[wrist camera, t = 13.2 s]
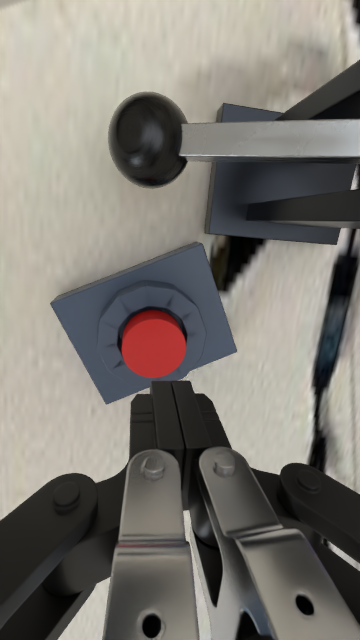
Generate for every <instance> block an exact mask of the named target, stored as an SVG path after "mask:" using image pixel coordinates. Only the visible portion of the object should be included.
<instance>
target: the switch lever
mask: <svg viewBox="0 0 360 640" xmlns="http://www.w3.org/2000/svg"><path fill="white" fill-rule="evenodd" d="M108 144H109V150H110V154H111V157H112V159H113V161H114V163H115V165H116V167H117V169H118V170H119V171H120V172H121V174H122V175H123V176H124V177H125V178H126V179H128V180H129V181H130V182H132V183H134V184H136V185H138V186H140V187H144V188H159V187H163V186H166V185H168V184H170V183H171V182H173V181H174V180H175V179H176V178H178V177H179V175H180V174H181V173H182V172H183V170H184V169H185V167H186V165H187V162H188V161H205V162H267V163H329V164H360V119H327V120H292V121H258V122H223V123H188V122H187V120H186V118H185V116H184V114H183V113H182V111H181V110H180V108H179V107H178V106H177V105H176V104H175V103H174V102H173V101H172V100H170V99H169V98H167V97H166V96H164V95H161V94H159V93H155V92H140V93H137V94H134V95H132V96H130V97H128V98H127V99H125V100H124V101H123V102H122V103H121V104H120V105H119V106H118V108H117V109H116V111H115V112H114V114H113V116H112V119H111V121H110V125H109V131H108Z"/></svg>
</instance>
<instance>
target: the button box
mask: <svg viewBox="0 0 360 640" xmlns="http://www.w3.org/2000/svg"><path fill="white" fill-rule="evenodd" d="M50 304H51V306H52V308H53V310H54V312H55V313H56V315H57V317H58V319H59V321H60V322H61V324H62V326H63V328H64V330H65V331H66V333H67V335H68V337H69V339H70V340H71V342H72V344H73V346H74V348H75V349H76V351H77V353H78V355H79V357H80V358H81V360H82V362H83V364H84V366H85V367H86V369H87V371H88V373H89V375H90V376H91V378H92V380H93V382H94V384H95V385H96V387H97V389H98V391H99V393H100V395H101V396H102V398H103V400H104V402H105V404H109V403H111V402H114V401H116V400H119V399H121V398H124V397H126V396H129V395H131V394H134V393H136V392H139V391H141V390H144V389H146V388H149V387H150V383H151V381H170V382H171V381H177V380H180V379H182V378H184V377H185V376H186V375H187V374H188V373H189V371H191V370H193V369H196V368H198V367H201V366H203V365H206V364H208V363H211V362H213V361H216V360H218V359H221V358H223V357H226V356H228V355H230V354H233V353H235V352H237V349H236V346H235V343H234V340H233V337H232V334H231V331H230V327H229V324H228V321H227V318H226V315H225V312H224V309H223V306H222V303H221V300H220V296H219V293H218V290H217V287H216V284H215V281H214V278H213V275H212V272H211V269H210V265H209V262H208V259H207V256H206V253H205V250H204V247H203V244H201V243H198V242H195V243H192V244H190V245H187V246H185V247H182V248H179V249H177V250H174V251H172V252H169V253H167V254H164V255H162V256H159V257H156V258H154V259H151V260H149V261H146V262H144V263H141V264H139V265H136V266H133V267H131V268H128V269H126V270H123V271H121V272H118V273H116V274H113V275H110V276H108V277H105V278H103V279H100V280H98V281H95V282H93V283H90V284H88V285H85V286H82V287H80V288H77V289H75V290H72V291H70V292H67V293H65V294H62V295H59V296H57V297H56V298H55V299H54V300H53V301H52V302H51V303H50ZM147 310H159V311H163V312H165V313H167V314H169V315H171V316H172V317H173V318H174V319H175V320H176V321H177V323H178V324H179V326H180V329H181V331H182V333H183V335H184V338H185V341H186V353H185V356H184V359H183V361H182V362H181V364H180V365H179V366H178V367H177V368H176V369H175V370H174V371H173V372H171V373H169V374H167V375H165V376H162V377H156V378H149V377H144V376H141V375H138V374H136V373H135V372H133V371H132V370H131V369H130V368H129V367H128V366H127V365H126V363H125V361H124V359H123V356H122V338H123V331H124V328H125V326H126V324H127V323H128V321H129V320H130V319H131V318H132V317H134V316H135V315H137V314H138V313H140V312H143V311H147Z"/></svg>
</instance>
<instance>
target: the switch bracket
mask: <svg viewBox="0 0 360 640" xmlns="http://www.w3.org/2000/svg"><path fill="white" fill-rule="evenodd" d="M327 119H360V60H359V61H357V62H356V63H355V64H353V65H352V66H350V67H349V68H347V69H346V70H345V71H343V72H342V73H340V74H339V75H337V76H336V77H335V78H333V79H332V80H330V81H329V82H327V83H326V84H325V85H323V86H322V87H320V88H319V89H317V90H316V91H315V92H313V93H312V94H310V95H309V96H307V97H306V98H305V99H303V100H302V101H300V102H299V103H297V104H296V105H295V106H293V107H292V108H290V109H289V110H287V111H286V112H285V113H281V112H275V111H269V110H263V109H257V108H251V107H245V106H239V105H233V104H227V103H223V104H222V106H221V107H220V108H219V110H218V113H217V122H216V123H223V122H258V121H292V120H327ZM355 168H356V164H329V163H267V162H212V168H211V178H210V187H209V196H208V206H207V215H206V224H205V233H207V234H215V235H226V236H238V237H249V238H261V239H273V240H284V241H296V242H307V243H319V244H330V245H337V242H338V237H339V233H340V229H341V228H354V229H360V189H356V190H350V189H351V184H352V180H353V176H354V172H355Z"/></svg>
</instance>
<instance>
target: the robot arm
mask: <svg viewBox="0 0 360 640" xmlns="http://www.w3.org/2000/svg"><path fill="white" fill-rule="evenodd" d="M185 510H189V511H190V517H191V527H190V540H191V544H192V548H193V552H194V557H195V561H196V565H197V569H198V573H199V577H200V581H201V585H202V589H203V593H204V597H205V602H206V606H207V610H208V614H209V620H210V627H211V640H360V571H358V570H357V569H356V568H354V567H353V566H352V565H350V564H349V563H348V562H346V561H345V560H344V559H342V558H341V557H339V556H338V555H337V554H335V553H334V552H333V551H331V550H330V549H329V548H327V547H326V546H325V545H323V544H322V540H323V537H324V538H325V539H327V540H328V541H329V542H331V543H332V544H334V545H335V546H336V547H338V548H339V549H340V550H342V551H343V552H345V553H346V554H347V555H349V556H350V557H351V558H353V559H354V560H356V561H357V562H358V563H360V494H358V493H356V492H355V491H353V490H351V489H350V488H348V487H346V486H344V485H343V484H341V483H339V482H338V481H336V480H334V479H333V478H331V477H329V476H328V475H326V474H324V473H322V472H321V471H319V470H317V469H315V468H314V467H311V466H309V465H306V464H302V463H290V464H287V465H286V466H284V467H283V468H282V470H281V473H280V475H277V474H273V473H268V472H264V471H259V470H256V469H253V468H251V467H250V466H249V464H248V463H247V461H246V460H245V458H244V457H243V456H242V455H241V454H239V453H238V452H236V451H235V450H233V449H232V448H231V445H230V443H229V441H228V438H227V436H226V433H225V431H224V429H223V426H222V424H221V421H220V420H219V417H218V414H217V413H216V409H215V407H214V405H213V402H212V401H211V400H210V399H209V398H208V397H207V396H206V395H205V394H194V391H193V388H192V385H191V382H190V381H171V382H170V381H151V383H150V394H137V395H136V396H135V398H134V399H133V400H132V402H131V416H130V449H129V461H128V463H127V465H126V466H125V468H124V469H123V470H122V471H121V472H120V473H118V474H117V475H115V476H113V477H112V478H109V479H107V480H104V481H101V482H98V483H95V482H94V481H93V480H92V479H91V478H90V477H88V476H86V475H83V474H79V473H70V474H65V475H61V476H59V477H56V478H54V479H53V480H51V481H50V482H48V483H47V484H46V485H44V486H43V487H42V488H41V489H39V490H38V491H37V492H36V493H34V494H33V495H32V496H31V497H29V498H28V499H27V500H26V501H24V502H23V503H22V504H21V505H19V506H18V507H17V508H16V509H14V510H13V511H12V512H11V513H9V514H8V515H7V516H6V517H4V518H3V519H2V520H1V521H0V640H57V639H58V638H59V637H60V635H61V634H62V633H63V631H64V630H65V628H66V627H67V626H68V624H69V623H70V622H71V620H72V619H73V618H74V616H75V615H76V614H77V612H78V611H79V609H80V608H81V607H82V605H83V604H84V603H85V601H86V600H87V599H88V597H89V596H90V595H91V593H92V591H93V590H94V588H95V586H96V584H97V583H99V582H101V581H103V580H105V579H107V578H109V577H111V578H110V586H109V593H108V600H107V608H106V615H105V623H104V630H103V638H102V640H200V638H199V628H198V617H197V607H196V597H195V587H194V576H193V566H192V556H191V549H190V544H189V542H188V541H186V538H185V528H184V516H183V511H185Z"/></svg>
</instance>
